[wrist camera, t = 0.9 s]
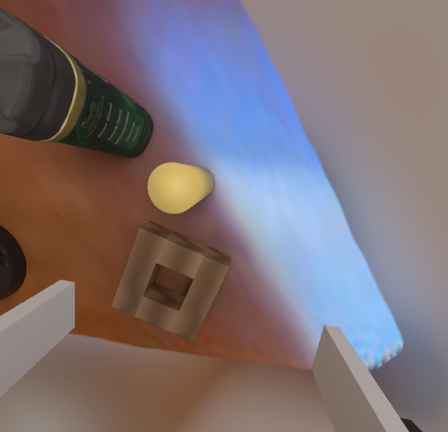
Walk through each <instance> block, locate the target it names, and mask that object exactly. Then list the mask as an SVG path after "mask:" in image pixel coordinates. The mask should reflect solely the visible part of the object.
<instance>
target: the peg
mask: <svg viewBox="0 0 448 432" xmlns="http://www.w3.org/2000/svg"><path fill="white" fill-rule="evenodd" d="M214 187H215V178H214V176H213V174H212V173H211V172H210V171H209V170H208V169H206V168H202V167H196V166H191V165H185V164H179V163H172V162H171V163H165V164H162V165H160V166H158V167H157V168H156V169H155V170H154V171H153V172H152V173H151V175H150V177H149V180H148V193H149V196H150V199H151V201H152V202H153V204H154V205H155V206H156V207H157V208H159V209H160V210H162V211H164V212H166V213H170V214H178V213H182V212H184V211H186V210H188V209H189V208H191V207H192V206H193V205H195V204H196V203H198V202H199V201H200V200H202V199H203V198H204V197H206V196H207V195H209V194H210V193H211V192H212V191H213V189H214Z"/></svg>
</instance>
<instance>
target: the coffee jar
mask: <svg viewBox="0 0 448 432" xmlns="http://www.w3.org/2000/svg"><path fill="white" fill-rule="evenodd" d="M151 131H152V120H151V117H150V115H149V113H148V112H147V111H146V110H145V109H144V108H143V107H141V106H140V105H139V104H138V103H136V102H135V101H134V100H132V99H131V98H130V97H128V96H127V95H126V94H124V93H123V92H121V91H120V90H119V89H117V88H116V87H114V86H113V85H112V84H111V83H109V82H108V81H107V80H105V79H104V78H103V77H101V76H100V75H99V74H97V73H96V72H95V71H93V70H92V69H90V68H89V67H88V66H87V65H85V64H84V63H82V62H81V61H79V60H78V59H77V58H75V57H74V56H72V55H71V54H69V53H68V52H67V51H65V50H64V49H62V48H61V47H59V46H58V45H56V44H55V43H53V42H52V41H50V40H49V39H48V38H46V37H45V36H43V35H42V34H41V33H39V32H38V31H36V30H34V29H33V28H31V27H29V26H28V25H27V24H26V23H24V22H22V21H21V20H20V19H18V18H16V17H15V16H13V15H11V14H10V13H8V12H6V11H5V10H3V9H1V8H0V133H2V134H6V135H10V136H15V137H19V138H23V139H27V140H32V141H38V142H55V143H62V144H67V145H73V146H78V147H82V148H87V149H92V150H97V151H102V152H106V153H111V154H115V155H119V156H125V157H134V156H136V155H138V154H139V153H140V152H141V151H142V150H143V149H144V147H145V146H146V143H147V142H148V140H149V137H150V134H151Z"/></svg>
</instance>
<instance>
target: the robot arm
mask: <svg viewBox="0 0 448 432" xmlns="http://www.w3.org/2000/svg"><path fill="white" fill-rule="evenodd" d="M24 277H25V260H24V256H23V253H22V251H21V249H20V247H19V245H18V244H17V242H16V241H15V239H14V238H13V237H12V236H11V235H10V234H9V233H8V232H7V231H6V230H5V229H4V228H2V227H1V226H0V300H1V299H3V298H5V297H7V296H9V295H11V294H13V293H14V292H15V291H16V290H18V288H19V287H20V286H21V284H22V282H23V280H24ZM74 327H75V282H70V281H65V280H59V281H58V282H56V283H54V284H53V285H51V286H49V287H48V288H46V289H45V290H43V291H41V292H40V293H38V294H36V295H35V296H33V297H31V298H30V299H28V300H26V301H25V302H23V303H21V304H20V305H18V306H16V307H15V308H13V309H11V310H10V311H8V312H6V313H5V314H3V315H1V316H0V397H1V396H3V395H4V394H5V393H6V392H7V391H8V390H9V389H10V388H11V387H12V386H13V385H14V384H15V383H16V382H17V381H18V380H19V379H20V378H22V377H23V376H24V375H25V374H26V373H27V372H28V371H29V370H30V369H31V368H32V367H33V366H34V365H35V364H36V363H37V362H38V361H39V360H41V358H43V357H44V355H46V354H47V353H48V352H49V351H50V350H51V349H52V348H53V347H54V346H55V345H56V344H57V343H58V342H59V341H61V340H62V339H63V338H64V337H65V336H66V335H67V334H68V333H69V332H70V331H71V330H72V329H73V328H74ZM312 371H313V374H314V376H315V379H316V382H317V385H318V387H319V390H320V392H321V395H322V398H323V400H324V403H325V405H326V408H327V411H328V413H329V415H330V418H331V421H332V424H333V426H334V429H335V431H336V432H422V431H421V430H420V429H419V428H418V427H417V426H416V425H415V424H414V423H413V422H412V421H411V420H408V419H403V418H399V416H398V415H397V413H396V412H395V410H394V409H393V407H392V406H391V404H390V403H389V401H388V400H387V398H386V397H385V395H384V394H383V392H382V391H381V389H380V388H379V386H378V385H377V383H376V382H375V380H374V379H373V377H372V376H371V374H370V373H369V371H368V370H367V368H366V367H365V365H364V364H363V362H362V361H361V359H360V358H359V356H358V355H357V353H356V352H355V350H354V349H353V347H352V346H351V344H350V343H349V341H348V340H347V338H346V337H345V335H344V334H343V332H342V331H341V329H340V328H338V327H332V326H327V325H324V328H323V332H322V335H321V339H320V342H319V346H318V349H317V353H316V356H315V359H314V363H313V366H312Z"/></svg>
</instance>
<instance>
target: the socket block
mask: <svg viewBox="0 0 448 432" xmlns="http://www.w3.org/2000/svg"><path fill="white" fill-rule="evenodd" d="M230 257H231V256H229V255H226V254H224V253H222V252H220V251H217V250H215V249H213V248H210V247H208V246H206V245H204V244H201V243H199V242H197V241H195V240H192V239H190V238H188V237H186V236H183V235H181V234H179V233H176V232H174V231H172V230H170V229H167V228H165V227H163V226H161V225H158V224H156V223H154V222H152V221H151V222H149V223H147V224H145V225H143V226H142V227H140V228H139V231H138V233H137V236H136V239H135V242H134V244H133V247H132V250H131V253H130V255H129V258H128V261H127V264H126V267H125V269H124V272H123V275H122V278H121V280H120V283H119V286H118V289H117V292H116V294H115V297H114V300H113V303H112V305H111V307H113V308H116V309H118V310H120V311H123V312H125V313H127V314H130V315H132V316H134V317H137V318H139V319H141V320H144V321H146V322H148V323H150V324H153V325H155V326H157V327H160V328H162V329H164V330H167V331H169V332H171V333H174V334H176V335H178V336H181V337H183V338H185V339H188V340H190V341H192V342H194V339H195V337H196V335H197V333H198V331H199V329H200V327H201V325H202V323H203V321H204V319H205V317H206V315H207V313H208V311H209V309H210V307H211V304H212V302H213V300H214V298H215V296H216V294H217V292H218V290H219V288H220V286H221V284H222V282H223V280H224V278H225V276H226V274H227V272H228V269H229V267H230ZM160 265H162V266H165V267H167V268H169V269H172V270H174V271H176V272H178V273H181V274H183V275H185V276H188V277H190V278H192V279H193V281H192V283H191V285H190V288H189V290H188V292H187V294H186V296H183V295H181V294H179V293H176V292H174V291H172V290H169V289H167V288H165V287H163V286H160V285H158V284H156V283H153V282H154V280H155V277H156V275H157V272H158V270H159V267H160Z"/></svg>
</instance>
